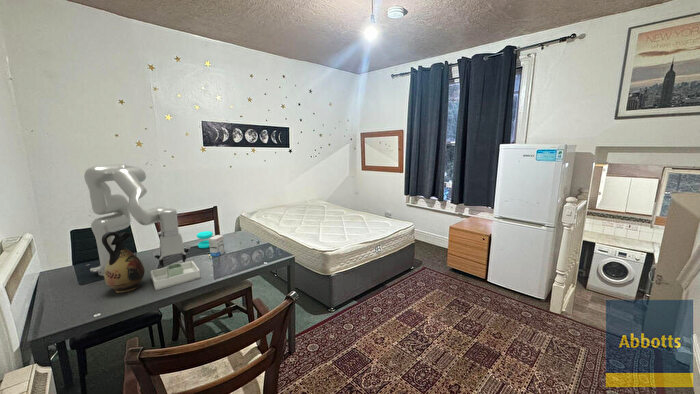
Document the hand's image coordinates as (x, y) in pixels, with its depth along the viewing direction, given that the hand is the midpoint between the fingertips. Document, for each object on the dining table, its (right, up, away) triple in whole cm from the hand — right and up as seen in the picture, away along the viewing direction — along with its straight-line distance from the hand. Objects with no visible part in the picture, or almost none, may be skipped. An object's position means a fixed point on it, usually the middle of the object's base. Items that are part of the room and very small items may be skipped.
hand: (173, 263), depth 147 cm
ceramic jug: (-18, -11, -9) cm, 23 cm away
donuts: (-8, 0, +48) cm, 49 cm away
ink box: (+7, -2, +34) cm, 35 cm away
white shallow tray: (+1, -8, +1) cm, 8 cm away
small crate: (0, -7, +1) cm, 7 cm away
